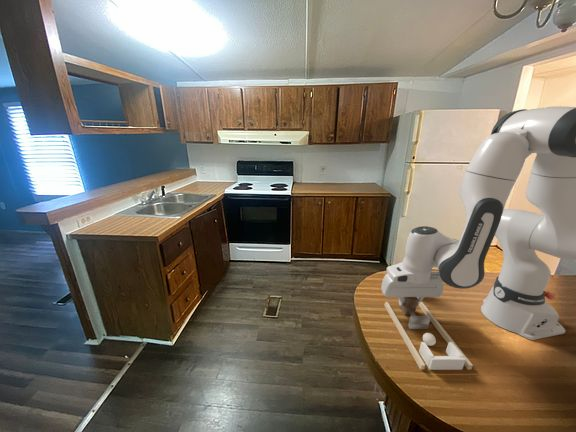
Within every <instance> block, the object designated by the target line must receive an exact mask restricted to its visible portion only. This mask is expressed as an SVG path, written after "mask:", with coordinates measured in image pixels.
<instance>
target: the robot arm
mask: <svg viewBox="0 0 576 432" xmlns="http://www.w3.org/2000/svg"><path fill="white" fill-rule="evenodd" d="M532 154H536V156H535V158H534V161H533V163H532V166H531V170H530V172H529V177H528V181H527V184H526V189H525V197H526V199H527V201H528V202H530V204H532V205H533V206H535V207H536V208H537V209H538V210H539V211H540V212H541V213H537V212H532V211H527V210H525V209H524V210H523V209H513V208H505V206H506V203H507V201H508V199H509V196H510V195H511V192H512V190H513V188H514V186H515V184H516V182H517V180H518V178H519V175H520V174H521V172H522V169H523V167H524V164H525V162H526V159H527V158H528V157H529V156H531V155H532ZM459 188H460V189H459V196H460V199H461V202H462V204H463V207H464V210H465V214H466V215H465V216H466V218H465V219H466V221H465V226H464V228H463V231H462V234H461V236H460V239H456V238H452V237H449V236H447V235H445V234H443V233H442V232H440V231H439V230H438V229H437V228H435V227H432V226H425V225H424V226H423V225H421V226H416V227H415V228H413V229H411V231H409V234H408V236H407V240H406V244H405V247H404V253H405V254H404V257H403V259H402V261H401V262H398V263H396V264H392V265H389V266H387V267H386V274H385V275H384V277H383V278H382V283H381V286H380V291H381V292H382V294H383V295H384V296H385V297H386V298H397V299H398V305H399V307H400V306H405V301H404V300H403V298H404V297H417V298H418V302H417V307H420V306H419V302H423V300H424V298H439V297H441V296H442V295H443V293H444V284H446V285H447V286H449V287H452V288H455V289H463V290H464V289H465V290H466V289H471V288H473V287H477V285H479V284H480V283H481V282H483V279H484V277H485V272H486V271H485V260H486V257H487V255H488V253H489V250H490V247H491V245H492V242H493V240H494V238H496V239H497V241H498V243H499V245H500V247H501V249H502V250H501V251H502V254H503V257H502V258H503V260H502V265H501V268H500V271H499V274H498V276H497V277H496V278H495V280H494V282H493V286H492V287H491V289H490V291H489V292H488V294H487V297H484V298H483V300H482V303H483V304H482V305H481V307H480V311H481V313H482V314H483V316H484V317H485V318H486V319H487V320H489V321H490V322H491V323H492V324H494V325H496V326H498V327H500V328H502V329H504V330H506V331H509V332H512V333H515V334H518V335H520V336H522V337H523V338H525V339H527V340H531V341H535V340H540V339H545V338H549V337H553V336H554V337H555V336H559V335H563V334H565V333H566V329H565V328H564V327H563V325H562V324H560V323H559V318H560V315H559V313H558V312H557V310H556V309H555V308H554V307H553V306H552V305H550V303H548V302H547V301H546V298H547V299H548V300H554V299H555V298H556V295H555V294H553V293H552V292H550V291H549V290H547V291H545V290H546V287H547V285H548V283H549V281H550V279H551V276H552V272H551V270H550V267H549V266H548V264H546V263H545V262H544V261H543V260H542V259H541V258H540V257H539V256H538V255H537V253H536V251H538V252H540V253H543V254H546V255H549V256H552V257H555V258H558V259H561V260H567V261H571V262H574V263H575V262H576V106H561V105H560V106H547V107H539V108H531V109H525V108H524V109H518V110H514V111H511V112H508V113H506V114H504V115H503V116H502V117H500V118H499V119H498V121H497V122H496V123H495V124H494V126H493V128H492V129H491V133H490V134H489V135H488V136H487V137H486V138H484V139H483V141H482V142H481V144H480V145H479V147H477V149H476V151H475V153H474V154H473V156H472V158H471V160H470V161H469V163H468V165H467V168H466V169H465V172H464V173H463V177H462V179H461V183H460V187H459ZM435 267H436V268H437V269H438V271H433V269H434V268H435Z"/></svg>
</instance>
